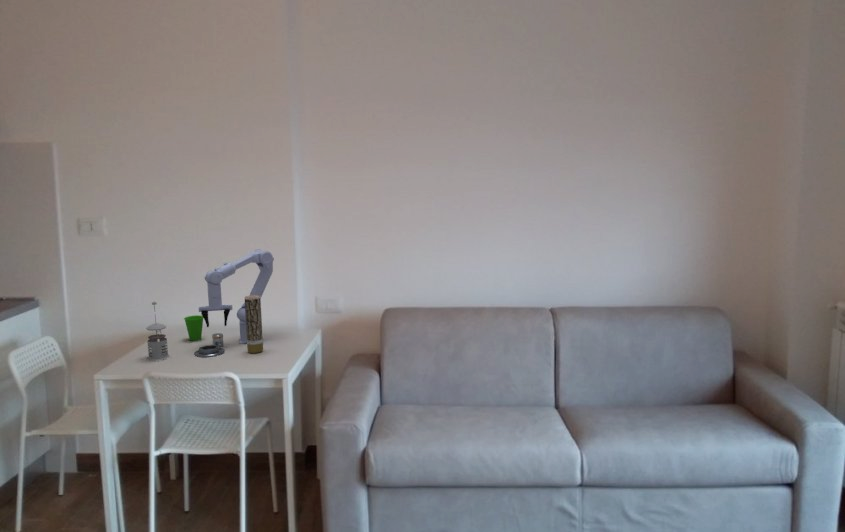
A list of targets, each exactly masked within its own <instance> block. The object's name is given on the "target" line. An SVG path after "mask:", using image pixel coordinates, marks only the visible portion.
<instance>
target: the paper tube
mask: <svg viewBox="0 0 845 532" xmlns="http://www.w3.org/2000/svg"><path fill="white" fill-rule="evenodd" d="M261 299H262V298H261ZM261 299H260V296H258V295H251V296H249V295H246V296H244V303H245V315H246V333H247V343H246V345H247V352H248V353H249V354H259V353H262V352H263V351H264V343H263V341H264V339H263V338H264V337H263V323H262V322H263V321H262V320H263V319H262V301H261Z"/></svg>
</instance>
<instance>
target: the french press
mask: <svg viewBox="0 0 845 532" xmlns="http://www.w3.org/2000/svg"><path fill="white" fill-rule="evenodd" d="M157 303H158V302H156V301H152V302H151V306H152V305H153V308H154V311H156V306H155V305H157ZM154 318H155V319H154V322H155V323H151V324H150V325H148V326H147V327H145V329H146V330H147V331H152V332H153V331H155V332H156V334H151V335H149V336H148V339H147V341H146V342H147V351H148V352H147V353H148V354H147V355H148V357H147V358H146V361H148V360H149V362H157V361H156V360H162V361H164V360H163V359H166V360H168V359H167V358H169V357H170V356H171V354H169V350H168V338H167V337H166V334H163V333H162V330H164V329H166V328H167V325H165V324H164V323H163V324H162V323H159V322H158V323H157V319H156V315H154ZM158 332H160V333H159V334H158ZM158 340H159V341H158ZM170 358H171V357H170ZM170 358H169V359H170ZM150 360H151V361H150Z"/></svg>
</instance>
